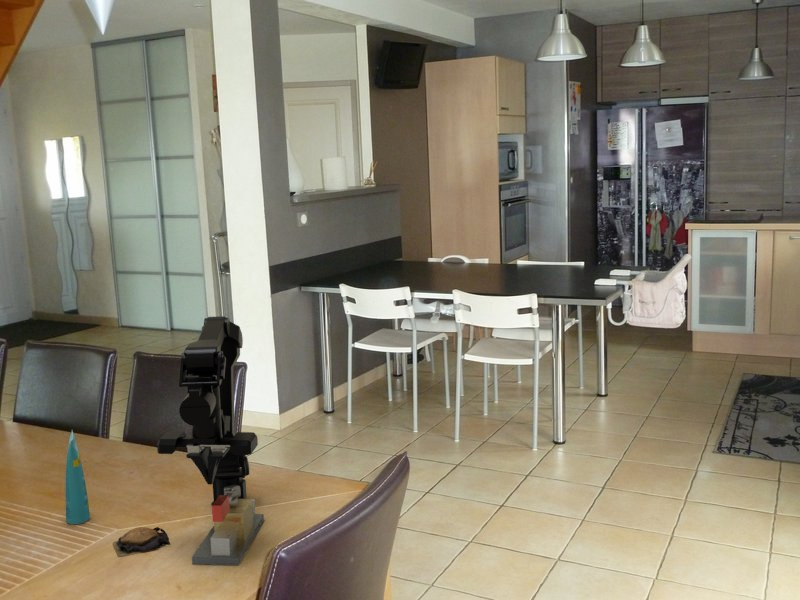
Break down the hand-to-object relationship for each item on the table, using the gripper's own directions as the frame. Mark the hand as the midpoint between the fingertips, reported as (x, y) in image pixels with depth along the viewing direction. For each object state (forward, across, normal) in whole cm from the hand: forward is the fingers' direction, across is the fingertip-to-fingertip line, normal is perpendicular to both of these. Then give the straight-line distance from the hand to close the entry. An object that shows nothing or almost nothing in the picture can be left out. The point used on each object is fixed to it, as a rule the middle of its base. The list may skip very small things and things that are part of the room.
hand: (210, 483), depth 163 cm
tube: (+13, +33, -9) cm, 37 cm away
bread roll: (+13, +14, +2) cm, 20 cm away
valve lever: (+3, -4, +4) cm, 7 cm away
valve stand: (+12, -4, 0) cm, 13 cm away
